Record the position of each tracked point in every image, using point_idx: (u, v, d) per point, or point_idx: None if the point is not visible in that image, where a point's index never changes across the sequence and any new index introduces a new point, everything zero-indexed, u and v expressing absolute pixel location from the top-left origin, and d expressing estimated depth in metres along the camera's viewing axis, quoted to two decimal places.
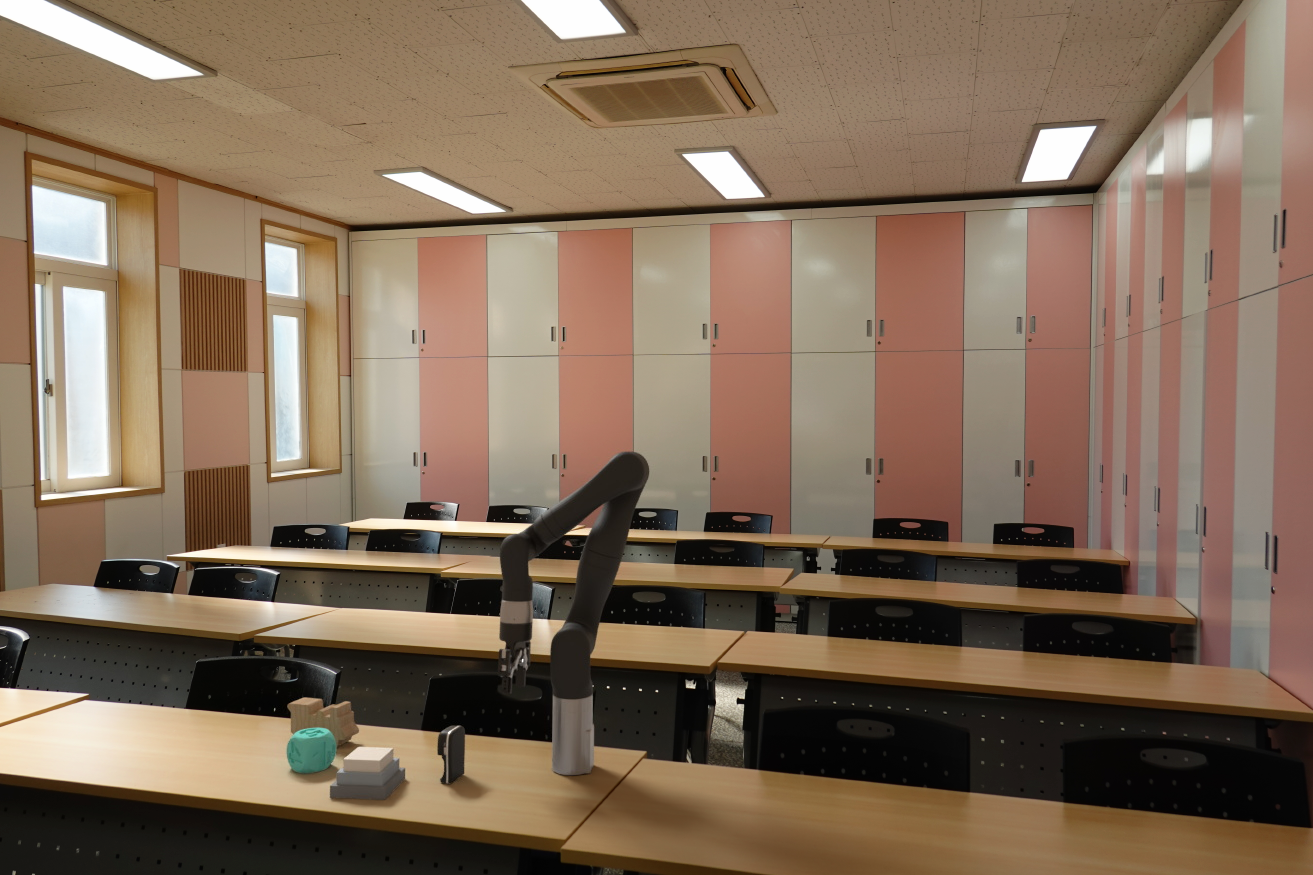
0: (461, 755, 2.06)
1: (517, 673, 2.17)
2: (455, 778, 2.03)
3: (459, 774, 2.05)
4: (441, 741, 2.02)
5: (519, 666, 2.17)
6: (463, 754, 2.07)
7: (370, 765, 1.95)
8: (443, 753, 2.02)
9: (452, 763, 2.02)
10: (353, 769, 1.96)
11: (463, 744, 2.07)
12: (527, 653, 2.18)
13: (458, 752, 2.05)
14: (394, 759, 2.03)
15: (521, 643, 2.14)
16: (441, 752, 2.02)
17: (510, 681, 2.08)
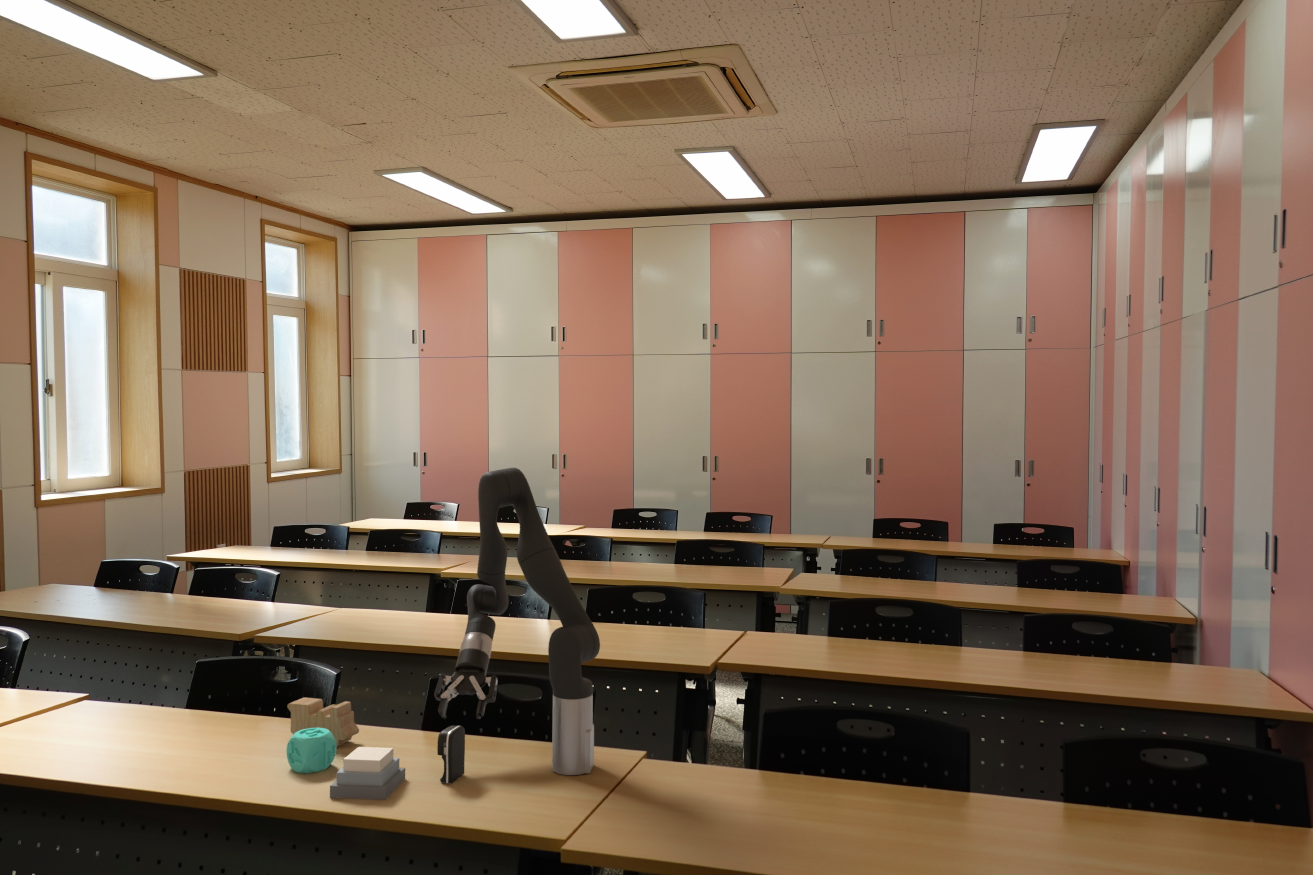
0: (461, 755, 2.06)
1: None
2: (455, 778, 2.03)
3: (459, 774, 2.05)
4: (441, 741, 2.02)
5: None
6: (463, 754, 2.07)
7: (370, 765, 1.95)
8: (443, 753, 2.02)
9: (452, 763, 2.02)
10: (353, 769, 1.96)
11: (463, 744, 2.07)
12: None
13: (458, 752, 2.05)
14: (394, 759, 2.03)
15: (473, 673, 2.19)
16: (441, 752, 2.02)
17: (442, 702, 2.14)
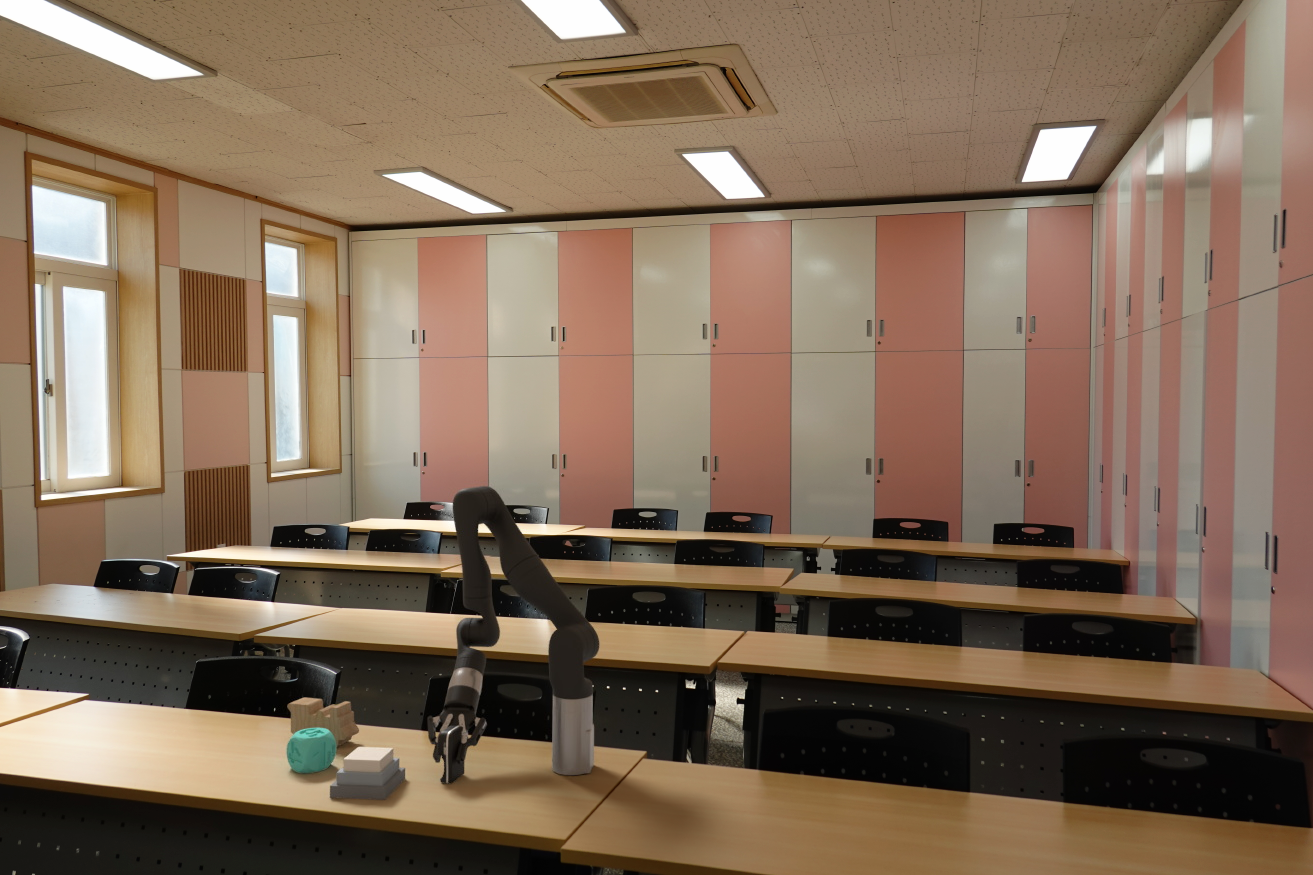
0: None
1: None
2: (455, 778, 2.03)
3: (459, 774, 2.05)
4: (441, 741, 2.02)
5: None
6: None
7: (370, 765, 1.95)
8: (443, 753, 2.02)
9: (452, 763, 2.02)
10: (353, 769, 1.96)
11: None
12: None
13: None
14: (394, 759, 2.03)
15: (462, 711, 2.10)
16: (441, 751, 2.02)
17: None
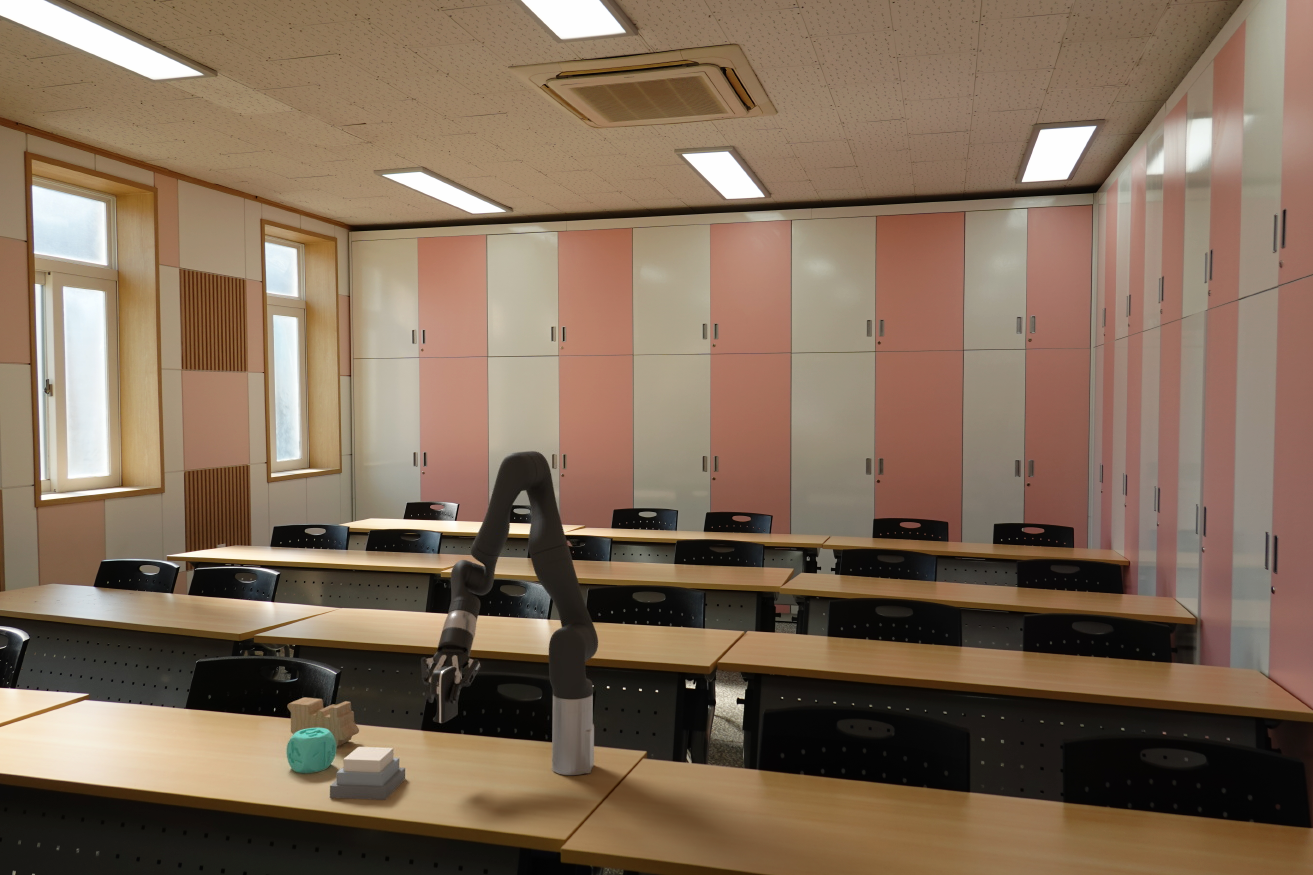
0: None
1: None
2: (448, 718, 2.03)
3: (452, 714, 2.05)
4: (434, 680, 2.02)
5: None
6: None
7: (370, 765, 1.95)
8: (436, 692, 2.02)
9: (445, 702, 2.02)
10: (353, 769, 1.96)
11: None
12: None
13: None
14: (394, 759, 2.03)
15: (456, 653, 2.10)
16: (434, 691, 2.02)
17: None
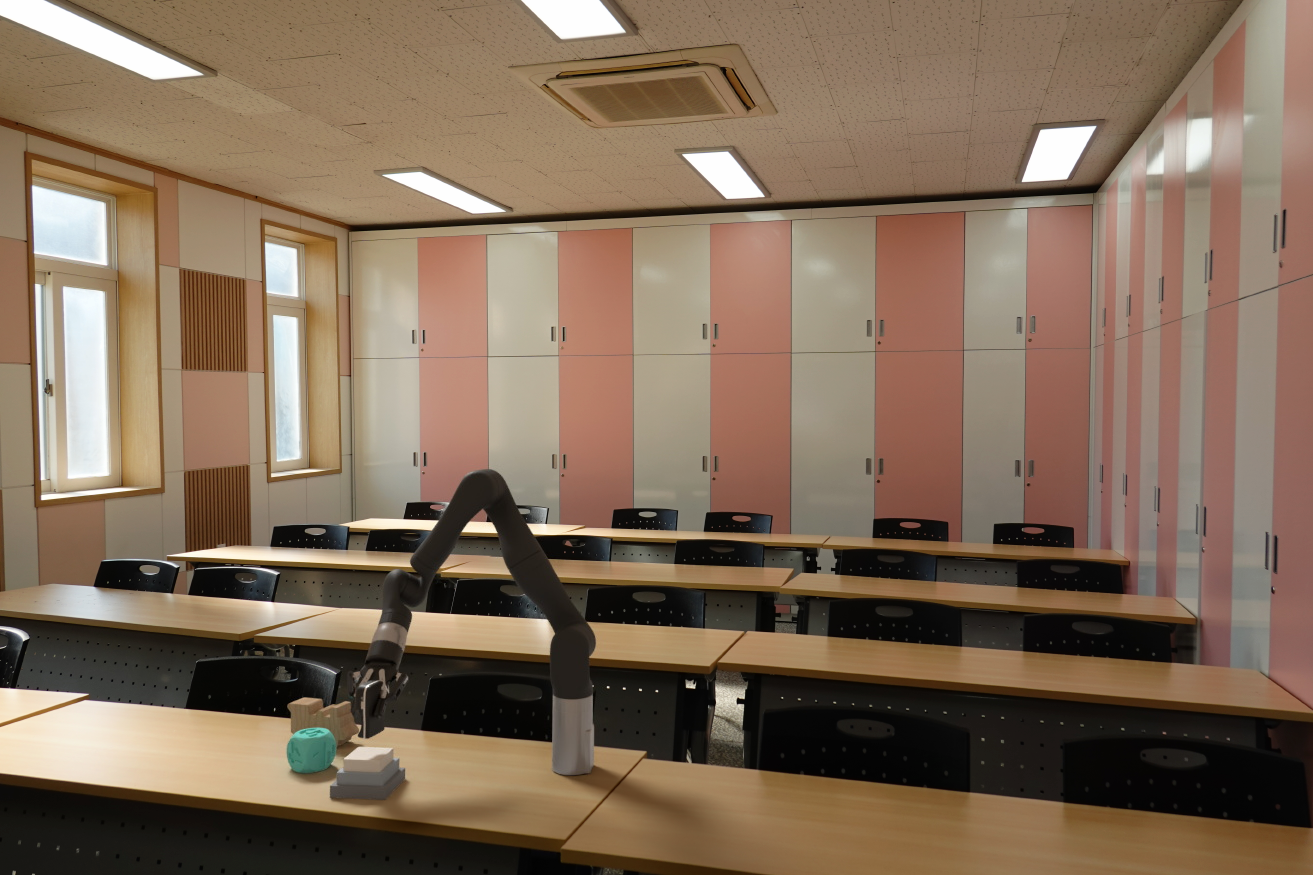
0: None
1: None
2: (373, 733, 1.98)
3: (378, 730, 2.00)
4: (359, 695, 1.96)
5: None
6: None
7: (370, 765, 1.95)
8: (360, 707, 1.96)
9: (370, 718, 1.97)
10: (353, 769, 1.96)
11: None
12: None
13: None
14: (394, 759, 2.03)
15: (383, 666, 2.05)
16: (358, 706, 1.96)
17: None
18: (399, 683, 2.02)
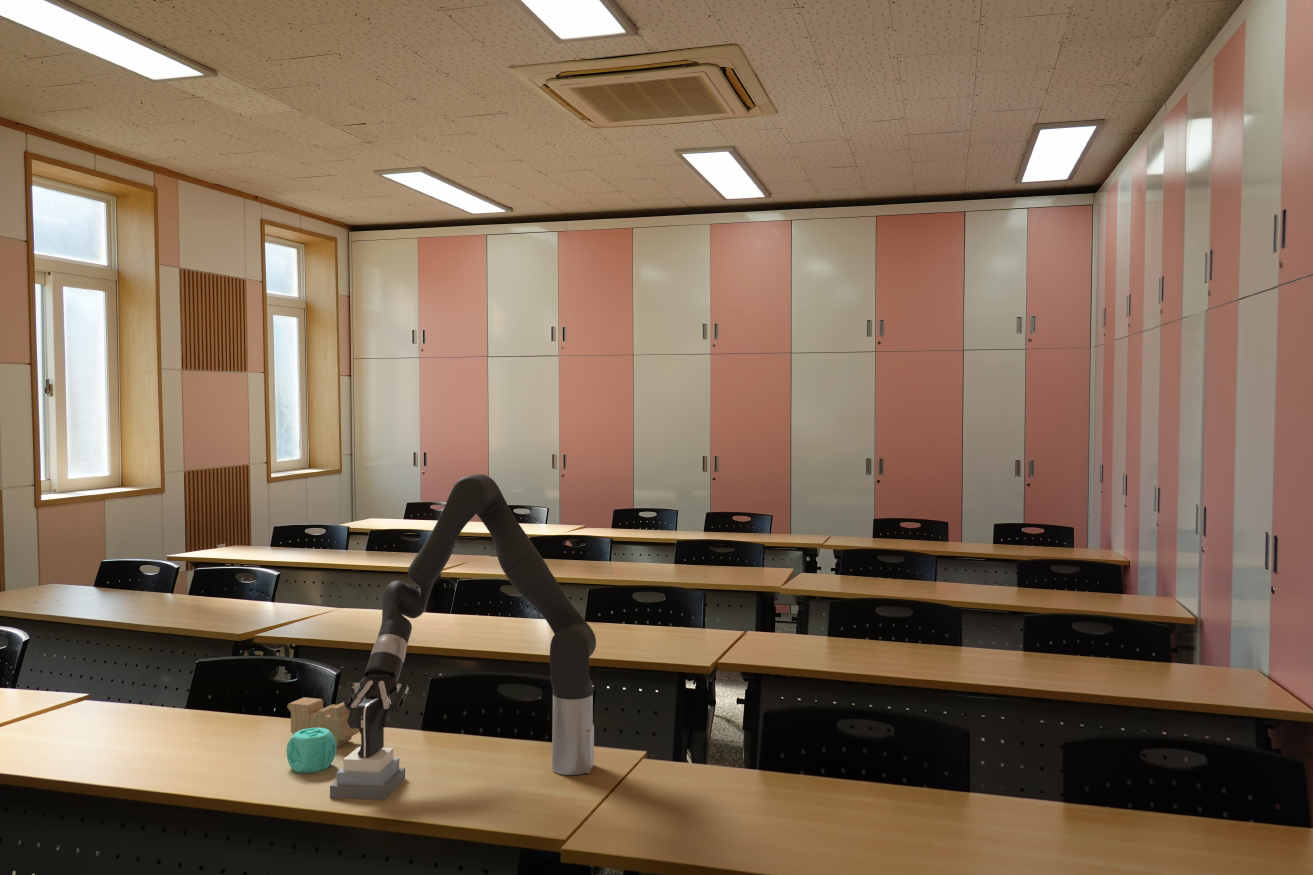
0: None
1: None
2: (373, 751, 1.98)
3: (378, 747, 2.00)
4: (358, 714, 1.96)
5: None
6: None
7: (370, 765, 1.95)
8: (360, 726, 1.96)
9: (370, 736, 1.97)
10: (353, 769, 1.96)
11: None
12: None
13: (377, 725, 2.00)
14: (394, 759, 2.03)
15: (383, 678, 2.05)
16: (358, 725, 1.96)
17: (352, 712, 1.99)
18: (401, 693, 2.02)
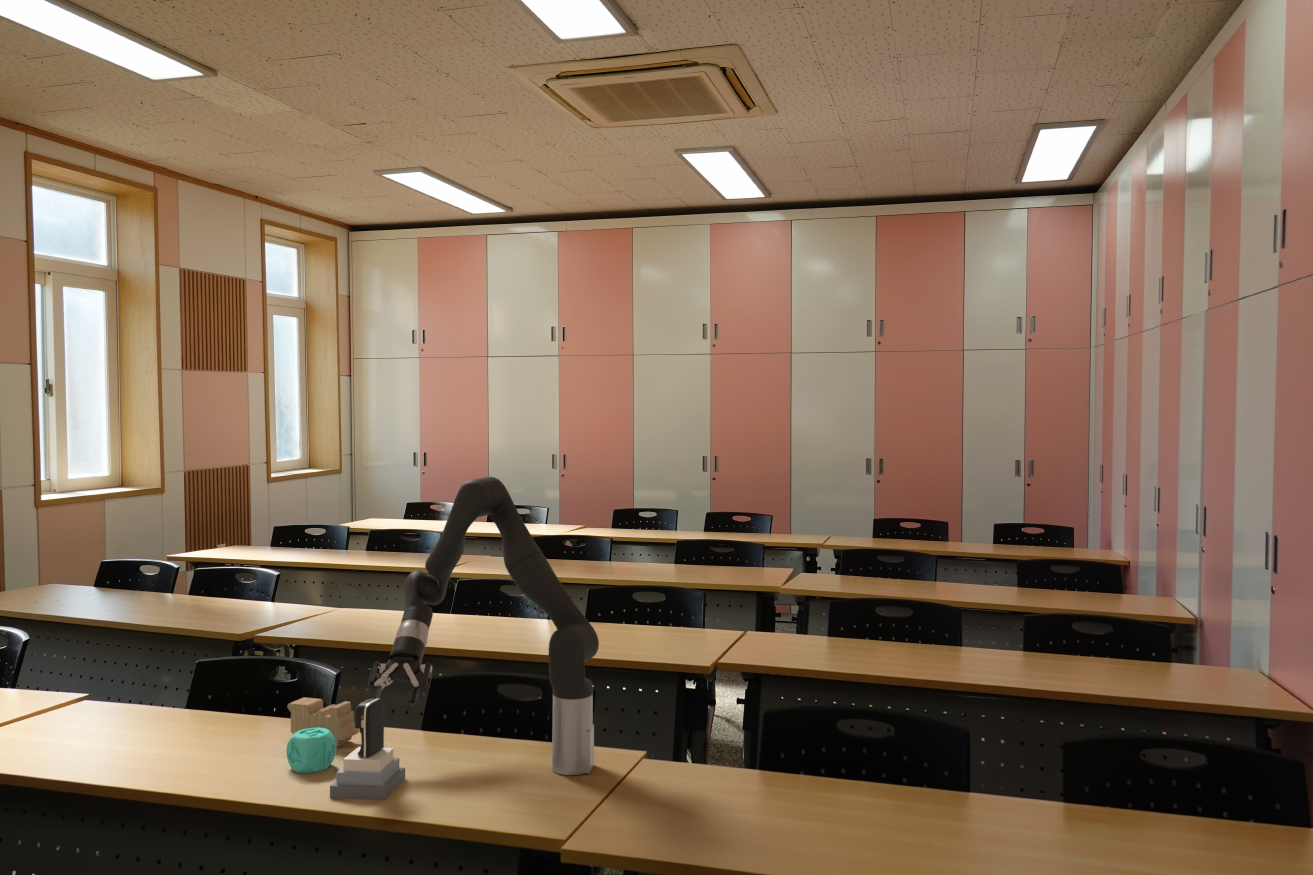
0: (380, 728, 2.01)
1: None
2: (373, 752, 1.98)
3: (378, 748, 2.00)
4: (359, 714, 1.97)
5: None
6: (382, 727, 2.02)
7: (370, 765, 1.95)
8: (360, 726, 1.96)
9: (370, 736, 1.97)
10: (353, 769, 1.96)
11: (382, 717, 2.02)
12: None
13: (377, 726, 2.00)
14: (394, 759, 2.03)
15: (407, 661, 2.18)
16: (358, 725, 1.97)
17: (376, 689, 2.13)
18: (427, 672, 2.15)
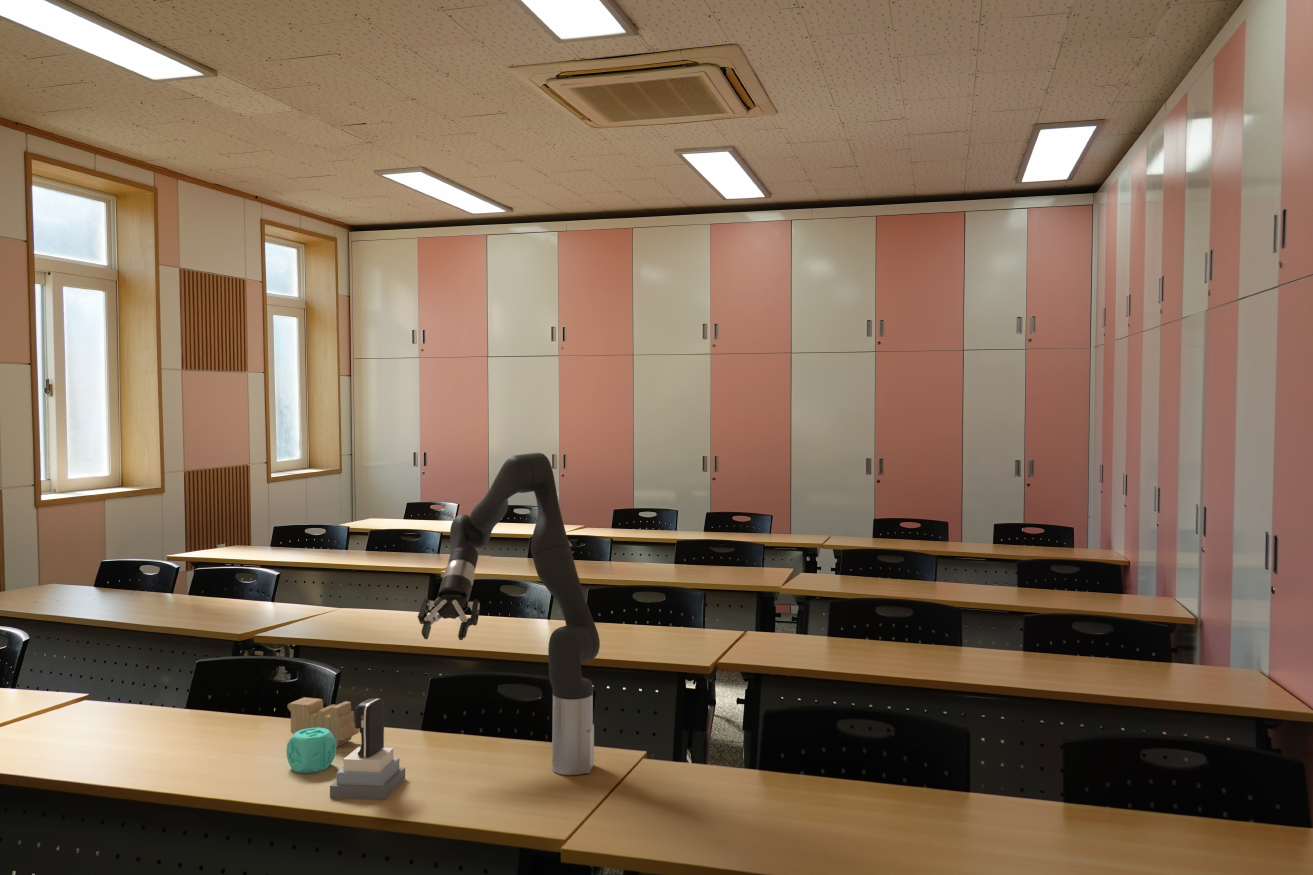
0: (380, 728, 2.01)
1: None
2: (373, 752, 1.98)
3: (378, 748, 2.00)
4: (359, 714, 1.97)
5: None
6: (382, 727, 2.02)
7: (370, 765, 1.95)
8: (360, 726, 1.96)
9: (370, 736, 1.97)
10: (353, 769, 1.96)
11: (382, 717, 2.02)
12: None
13: (377, 726, 2.00)
14: (394, 759, 2.03)
15: (455, 598, 2.25)
16: (358, 725, 1.97)
17: (426, 624, 2.20)
18: (475, 608, 2.22)
